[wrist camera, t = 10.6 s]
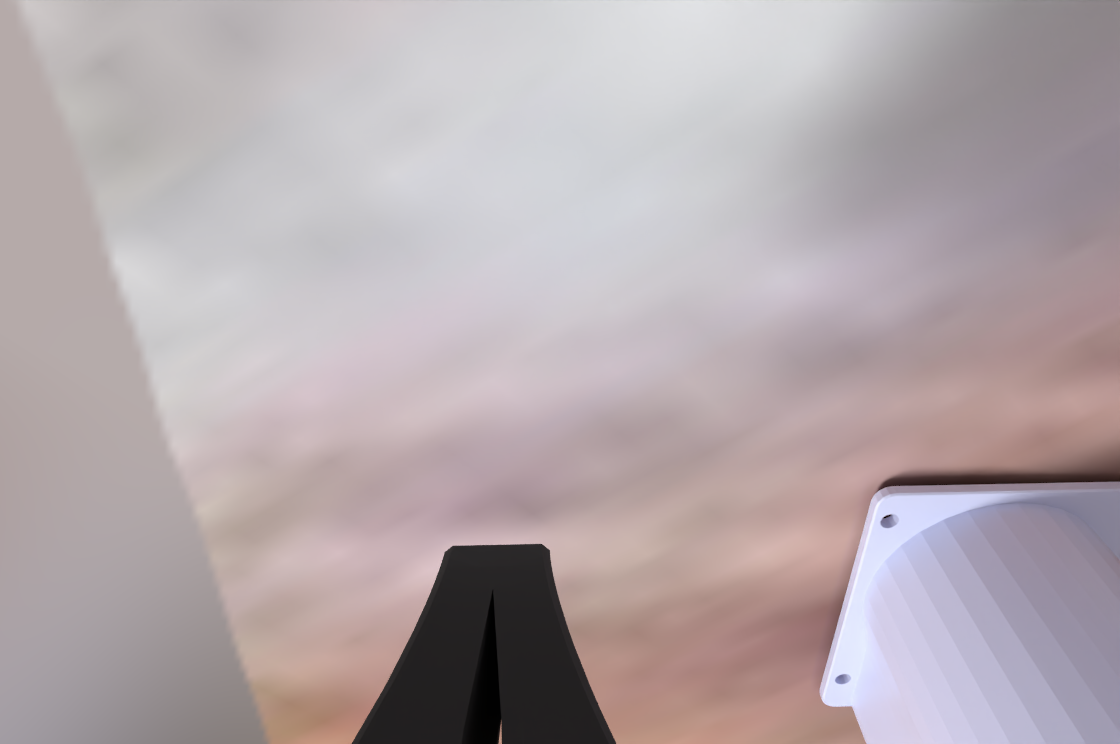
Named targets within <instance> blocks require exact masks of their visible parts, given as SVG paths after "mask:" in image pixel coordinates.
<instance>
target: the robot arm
mask: <svg viewBox="0 0 1120 744" xmlns="http://www.w3.org/2000/svg"><path fill="white" fill-rule="evenodd" d="M890 514H892V515H891V516H889V517H888V518H883V517H885V516H886V515H890ZM882 518H883V519H882ZM820 695H821V698H822V701H823V702H824V703H825V704H826V705H829V706H835V707H836V706H852V707H853V710H854V713H855V715H856V718H857V720H858V723H859V726H860V728H861V731H862V733H863V736H864V739H865V741H866V744H1120V482H1076V483H1026V484H976V485H925V486H891V487H885V488H883V489H881V490H879V491H878V492H877V493H876V494H875V495H874V496H873V498H872V500H871V504H870V507H869V511H868V515H867V518H866V522H865V526H864V529H863V533H862V537H861V540H860V544H859V548H858V551H857V555H856V558H855V562H854V566H853V569H852V573H851V577H850V580H849V584H848V588H847V591H846V595H845V599H844V602H843V606H842V610H841V613H840V617H839V621H838V624H837V628H836V631H835V635H834V639H833V642H832V646H831V650H830V653H829V657H828V661H827V664H826V668H825V672H824V675H823V679H822V683H821V686H820ZM501 722H502V744H616V742H615V740H614V738H613V736H612V733H611V731H610V729H609V727H608V725H607V723H606V721H605V719H604V716H603V714H602V712H601V710H600V708H599V705H598V703H597V701H596V699H595V696H594V694H593V692H592V689H591V687H590V685H589V682H588V680H587V677H586V675H585V672H584V669H583V667H582V664H581V662H580V659H579V657H578V654H577V652H576V649H575V647H574V644H573V641H572V638H571V636H570V633H569V630H568V627H567V624H566V621H565V617H564V614H563V611H562V608H561V605H560V601H559V598H558V594H557V590H556V586H555V582H554V577H553V572H552V567H551V560H550V550H549V549H547V548H546V547H545V546H544V545H542V544H520V545H474V546H452V547H451V548H450V549H448V550H447V551H446V552H445V554H444V557H443V560H442V563H441V567H440V570H439V572H438V575H437V578H436V580H435V583H434V585H433V588H432V590H431V593H430V595H429V598H428V600H427V602H426V605H425V607H424V609H423V611H422V613H421V616H420V618H419V620H418V622H417V624H416V627H415V629H414V631H413V633H412V635H411V637H410V639H409V641H408V643H407V645H406V647H405V649H404V651H403V653H402V655H401V657H400V658H399V660H398V662H397V664H396V666H395V668H394V670H393V672H392V674H391V676H390V678H389V680H388V682H387V684H386V685H385V687H384V689H383V691H382V693H381V694H380V696H379V698H378V699H377V701H376V703H375V705H374V706H373V708H372V710H371V711H370V713H369V715H368V717H367V718H366V720H365V722H364V723H363V725H362V727H361V729H360V730H359V732H358V734H357V735H356V737H355V739H354V741H353V742H352V744H498V743H499V734H500V725H501Z"/></svg>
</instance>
